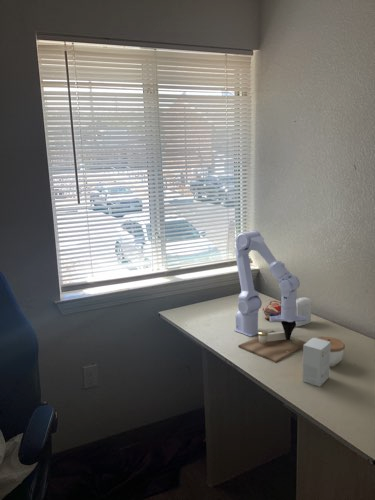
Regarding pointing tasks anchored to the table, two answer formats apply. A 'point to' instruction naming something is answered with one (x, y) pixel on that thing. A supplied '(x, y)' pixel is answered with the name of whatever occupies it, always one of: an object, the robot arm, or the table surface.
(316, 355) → the small box
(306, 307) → the photo printer
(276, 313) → the pencil case
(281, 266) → the robot arm
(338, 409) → the table surface
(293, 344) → the board
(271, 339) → the peg lever
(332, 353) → the lidded jar
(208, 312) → the table surface
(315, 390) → the table surface
